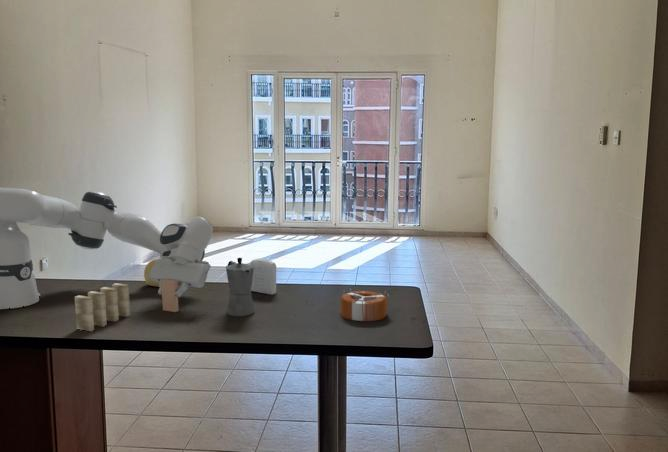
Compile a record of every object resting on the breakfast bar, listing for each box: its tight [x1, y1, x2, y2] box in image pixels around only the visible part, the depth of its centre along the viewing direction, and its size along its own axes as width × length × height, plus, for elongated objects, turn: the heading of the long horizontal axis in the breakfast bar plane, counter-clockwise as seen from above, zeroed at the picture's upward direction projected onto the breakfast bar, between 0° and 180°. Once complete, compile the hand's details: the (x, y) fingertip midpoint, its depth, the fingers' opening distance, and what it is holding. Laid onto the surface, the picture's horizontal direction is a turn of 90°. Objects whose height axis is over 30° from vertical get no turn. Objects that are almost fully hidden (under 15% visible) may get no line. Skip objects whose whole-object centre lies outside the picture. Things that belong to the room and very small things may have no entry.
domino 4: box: [111, 282, 131, 318], centre depth 182 cm, size 5×2×10 cm, turn 68°
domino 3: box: [99, 286, 120, 323], centre depth 177 cm, size 5×2×10 cm, turn 68°
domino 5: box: [161, 279, 179, 313], centre depth 187 cm, size 5×2×10 cm, turn 68°
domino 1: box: [74, 294, 95, 332], centre depth 168 cm, size 5×2×10 cm, turn 68°
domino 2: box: [87, 290, 108, 327], centre depth 173 cm, size 5×2×10 cm, turn 68°
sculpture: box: [143, 256, 161, 288], centre depth 217 cm, size 12×12×11 cm
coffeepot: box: [225, 257, 255, 317], centre depth 186 cm, size 15×9×18 cm, turn 33°
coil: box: [340, 288, 389, 323], centre depth 184 cm, size 7×15×15 cm
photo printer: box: [249, 258, 277, 295], centre depth 209 cm, size 10×4×12 cm, turn 60°
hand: (168, 294), depth 186 cm, fingers closed on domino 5, 5 cm apart
